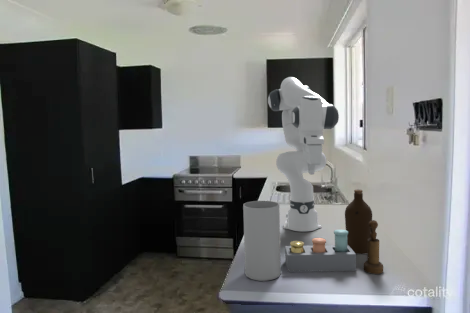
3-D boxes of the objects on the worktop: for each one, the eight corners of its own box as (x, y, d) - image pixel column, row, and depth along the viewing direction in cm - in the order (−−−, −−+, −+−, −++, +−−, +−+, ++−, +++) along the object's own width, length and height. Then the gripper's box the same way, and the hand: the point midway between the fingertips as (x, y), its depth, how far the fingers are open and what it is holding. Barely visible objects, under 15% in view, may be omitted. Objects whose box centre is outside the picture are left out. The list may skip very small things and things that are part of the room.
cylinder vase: (260, 264, 138) (259, 199, 136) (287, 273, 130) (286, 203, 128) (237, 275, 130) (235, 205, 127) (265, 285, 121) (263, 210, 119)
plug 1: (289, 261, 139) (289, 240, 138) (303, 260, 138) (302, 240, 138) (291, 266, 134) (291, 245, 133) (305, 266, 133) (304, 245, 133)
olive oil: (377, 254, 146) (377, 191, 144) (351, 255, 145) (351, 193, 143) (365, 245, 157) (365, 187, 155) (340, 246, 156) (340, 188, 154)
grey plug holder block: (285, 261, 141) (284, 246, 141) (348, 260, 140) (348, 245, 140) (288, 271, 131) (287, 255, 131) (356, 270, 130) (356, 254, 130)
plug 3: (332, 250, 138) (332, 229, 137) (346, 249, 137) (346, 229, 137) (335, 254, 133) (335, 233, 132) (349, 254, 132) (349, 233, 132)
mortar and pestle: (386, 269, 130) (386, 220, 129) (379, 275, 125) (379, 224, 124) (367, 265, 135) (367, 217, 133) (360, 271, 130) (360, 221, 128)
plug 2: (311, 258, 138) (310, 237, 138) (324, 258, 138) (324, 237, 137) (313, 263, 133) (313, 242, 133) (327, 263, 133) (327, 241, 132)
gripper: (299, 137, 152) (299, 170, 153) (307, 140, 131) (307, 178, 133) (314, 136, 151) (314, 169, 153) (325, 139, 131) (324, 178, 133)
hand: (311, 174), depth 143 cm, fingers closed
